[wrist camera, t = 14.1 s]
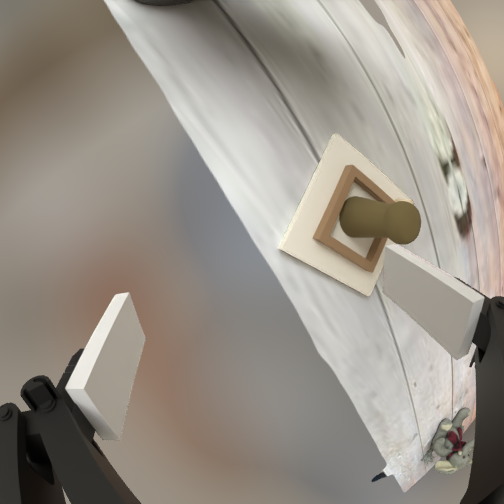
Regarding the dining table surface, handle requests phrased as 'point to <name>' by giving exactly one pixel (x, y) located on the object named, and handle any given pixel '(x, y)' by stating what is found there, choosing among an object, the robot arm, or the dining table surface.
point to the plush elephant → (451, 445)
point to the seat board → (327, 218)
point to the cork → (380, 220)
